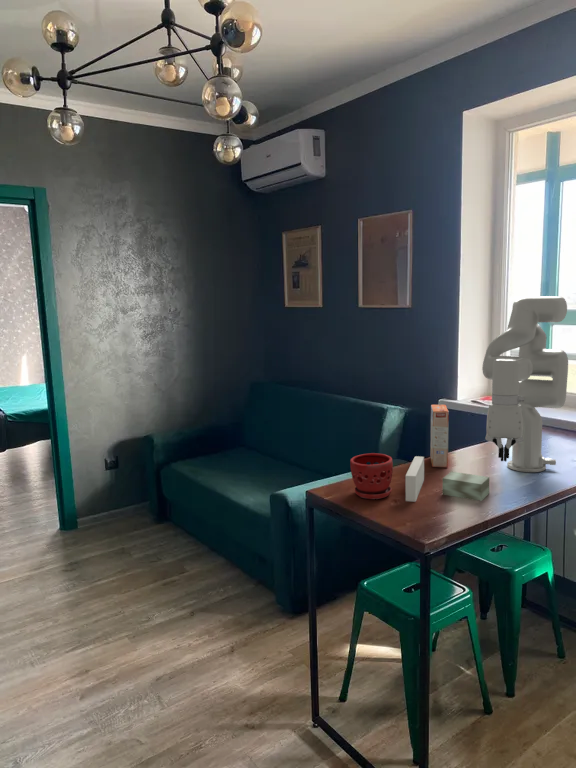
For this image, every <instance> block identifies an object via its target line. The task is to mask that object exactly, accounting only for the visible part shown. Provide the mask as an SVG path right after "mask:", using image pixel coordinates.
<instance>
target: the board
mask: <svg viewBox="0 0 576 768" xmlns="http://www.w3.org/2000/svg"><path fill="white" fill-rule="evenodd" d="M424 482H425V456H419V455H418V456H417V455H416V456H414V458H413V460H412V461H411V463H410V465H409V468H408V470H407V472H406V474H405V502H414V503H416V501H417V499H418V496H419V494H420V492H421V489H422V487H423V484H424Z"/></svg>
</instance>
